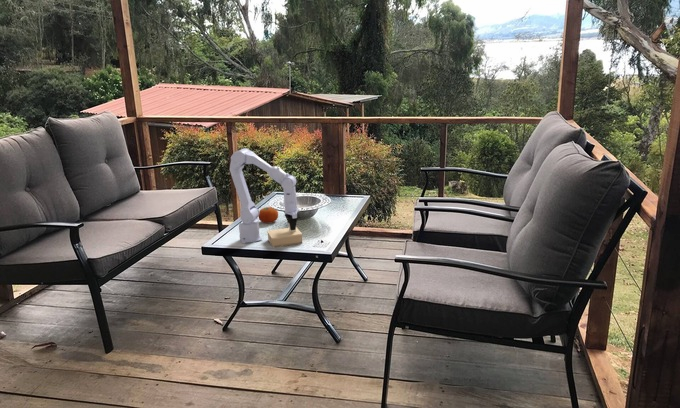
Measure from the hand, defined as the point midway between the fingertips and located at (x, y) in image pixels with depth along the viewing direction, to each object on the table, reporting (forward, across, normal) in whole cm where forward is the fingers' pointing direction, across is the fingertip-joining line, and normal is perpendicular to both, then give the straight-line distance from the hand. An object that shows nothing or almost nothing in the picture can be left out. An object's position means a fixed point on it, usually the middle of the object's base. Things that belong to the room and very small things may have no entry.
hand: (292, 229), depth 242 cm
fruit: (+6, +36, +5) cm, 37 cm away
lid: (+2, 0, +4) cm, 4 cm away
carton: (+6, 0, +4) cm, 7 cm away
